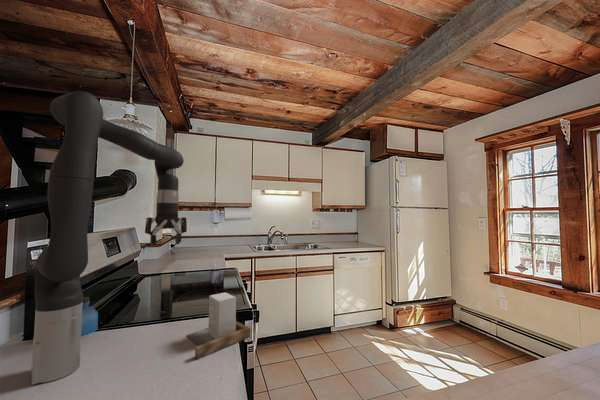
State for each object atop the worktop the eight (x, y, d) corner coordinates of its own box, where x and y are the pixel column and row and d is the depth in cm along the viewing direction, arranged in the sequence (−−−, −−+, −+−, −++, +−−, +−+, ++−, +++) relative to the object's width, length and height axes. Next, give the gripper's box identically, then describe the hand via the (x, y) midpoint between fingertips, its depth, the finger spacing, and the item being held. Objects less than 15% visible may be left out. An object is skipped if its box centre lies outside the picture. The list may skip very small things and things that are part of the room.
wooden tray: (197, 359, 74) (197, 348, 74) (174, 340, 85) (174, 331, 85) (250, 337, 87) (250, 328, 87) (224, 323, 98) (224, 315, 98)
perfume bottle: (65, 335, 88) (67, 300, 88) (85, 328, 94) (87, 294, 94) (77, 338, 86) (79, 302, 86) (97, 330, 92) (98, 296, 92)
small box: (236, 336, 87) (236, 297, 88) (218, 342, 83) (218, 301, 83) (225, 328, 93) (225, 291, 94) (207, 333, 89) (208, 295, 89)
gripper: (150, 201, 91) (148, 247, 90) (190, 202, 102) (189, 243, 101) (143, 201, 96) (142, 245, 95) (182, 203, 107) (181, 242, 106)
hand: (166, 244), depth 98 cm, fingers open, 8 cm apart
